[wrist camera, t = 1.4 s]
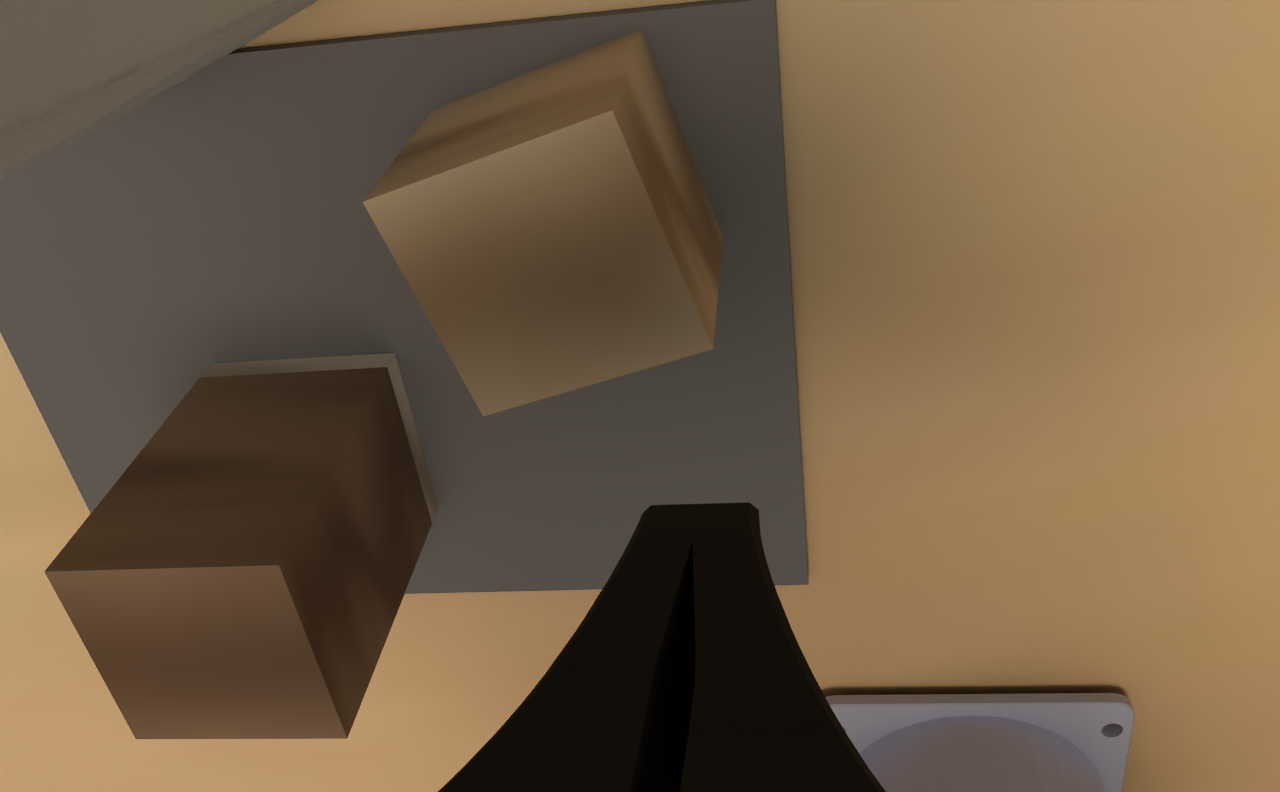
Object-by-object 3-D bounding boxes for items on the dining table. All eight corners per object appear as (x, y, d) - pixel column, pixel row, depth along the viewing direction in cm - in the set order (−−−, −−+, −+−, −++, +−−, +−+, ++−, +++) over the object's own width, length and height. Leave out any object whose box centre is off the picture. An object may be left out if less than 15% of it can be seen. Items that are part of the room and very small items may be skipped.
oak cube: (722, 236, 22) (712, 349, 19) (528, 299, 24) (483, 416, 20) (641, 29, 20) (612, 110, 17) (432, 110, 22) (362, 201, 18)
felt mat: (808, 575, 28) (808, 584, 27) (139, 592, 30) (133, 599, 30) (775, -7, 20) (775, -2, 20) (-111, 84, 23) (-121, 89, 23)
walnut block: (438, 507, 27) (347, 738, 21) (269, 513, 28) (136, 738, 22) (395, 352, 25) (278, 565, 19) (211, 363, 25) (44, 571, 20)
